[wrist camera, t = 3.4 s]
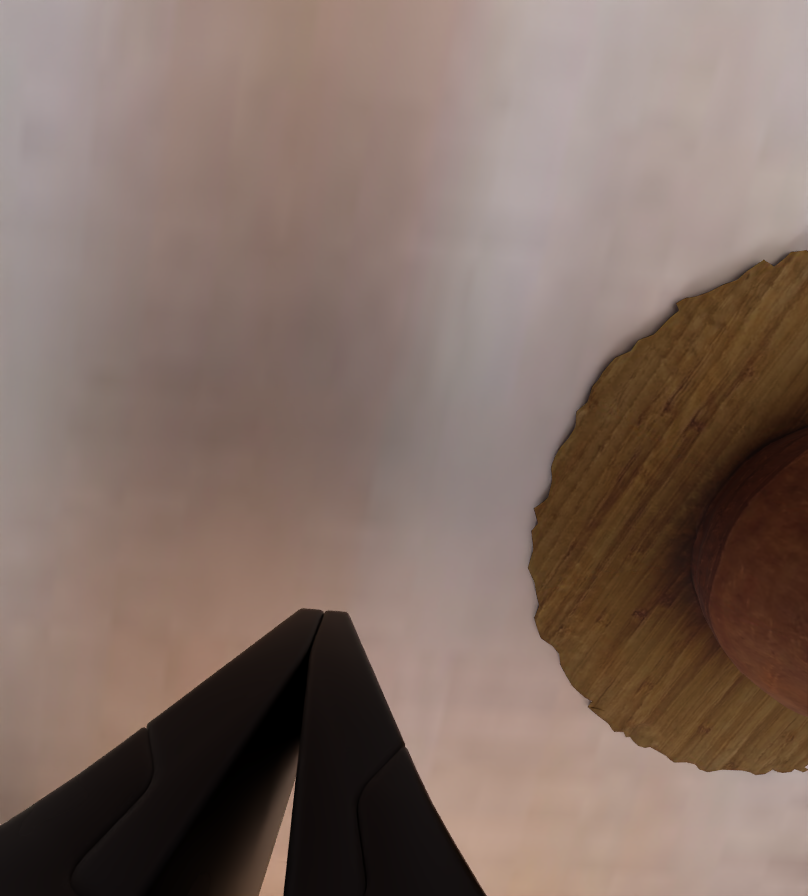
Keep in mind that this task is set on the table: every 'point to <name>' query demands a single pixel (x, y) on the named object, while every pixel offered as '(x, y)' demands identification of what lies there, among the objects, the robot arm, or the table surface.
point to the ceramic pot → (691, 532)
